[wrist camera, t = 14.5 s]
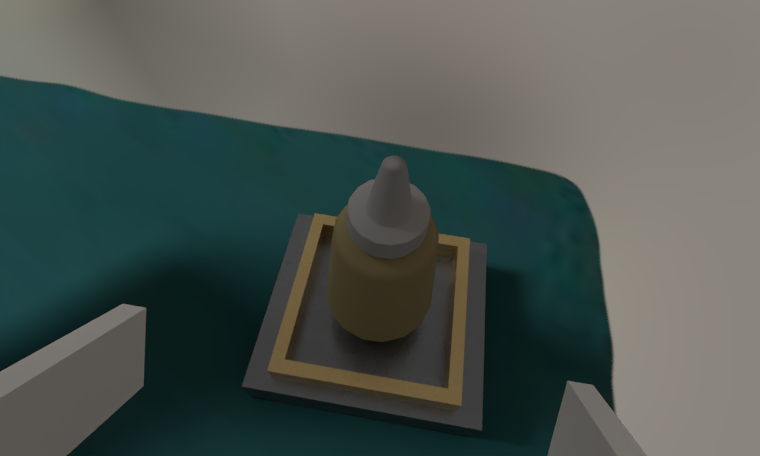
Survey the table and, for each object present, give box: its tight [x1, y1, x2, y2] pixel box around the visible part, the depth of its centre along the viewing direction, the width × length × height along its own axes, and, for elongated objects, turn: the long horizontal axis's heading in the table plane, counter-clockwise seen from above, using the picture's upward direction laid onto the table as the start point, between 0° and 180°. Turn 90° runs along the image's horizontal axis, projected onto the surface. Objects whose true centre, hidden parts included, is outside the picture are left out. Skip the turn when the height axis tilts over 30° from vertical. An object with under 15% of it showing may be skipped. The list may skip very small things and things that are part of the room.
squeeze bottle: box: [326, 156, 439, 342], centre depth 28 cm, size 8×8×18 cm
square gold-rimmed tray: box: [242, 213, 487, 437], centre depth 36 cm, size 18×16×6 cm
